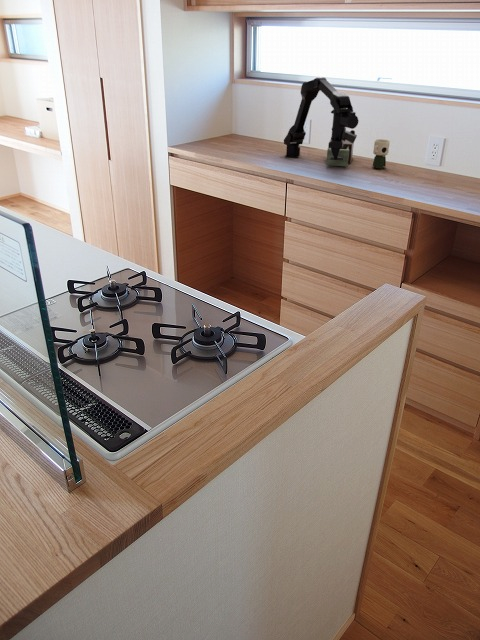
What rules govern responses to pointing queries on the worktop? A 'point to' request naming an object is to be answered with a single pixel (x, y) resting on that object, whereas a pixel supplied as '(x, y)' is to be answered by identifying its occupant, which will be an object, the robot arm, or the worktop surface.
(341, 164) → the drawer
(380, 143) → the toy figurine
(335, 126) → the robot arm
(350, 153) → the cabinet
